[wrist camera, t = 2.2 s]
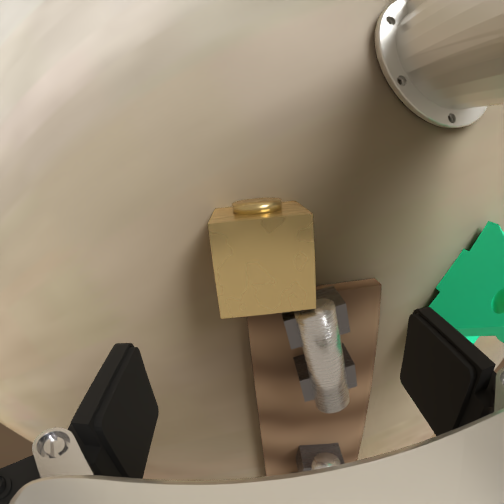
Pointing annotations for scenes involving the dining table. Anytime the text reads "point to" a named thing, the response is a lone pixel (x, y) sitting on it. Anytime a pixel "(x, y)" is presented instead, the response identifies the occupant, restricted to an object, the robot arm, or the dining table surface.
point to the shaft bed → (289, 389)
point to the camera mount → (475, 288)
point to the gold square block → (263, 257)
